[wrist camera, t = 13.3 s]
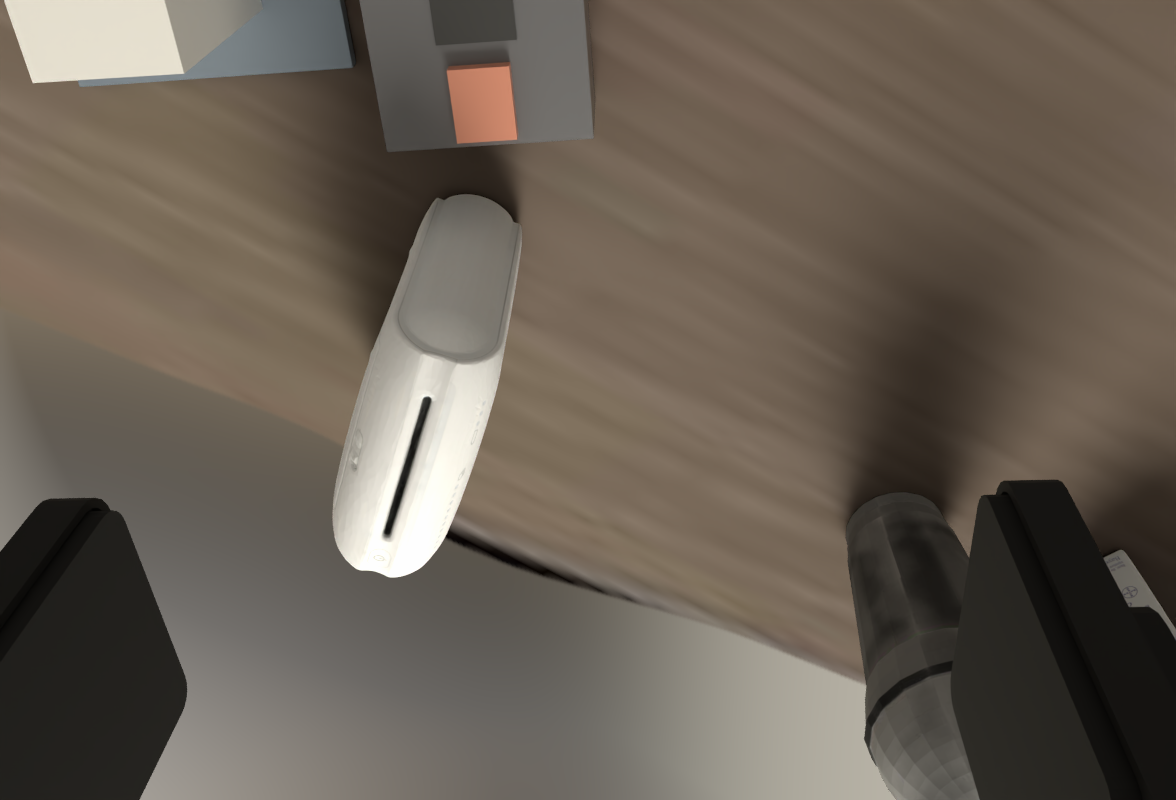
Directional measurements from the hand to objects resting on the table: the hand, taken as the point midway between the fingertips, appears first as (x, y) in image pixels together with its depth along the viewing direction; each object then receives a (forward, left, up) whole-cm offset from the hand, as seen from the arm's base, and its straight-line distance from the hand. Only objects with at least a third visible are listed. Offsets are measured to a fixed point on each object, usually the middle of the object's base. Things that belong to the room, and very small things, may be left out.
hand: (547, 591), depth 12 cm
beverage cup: (-12, +25, -30) cm, 41 cm away
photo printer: (+7, +12, -30) cm, 33 cm away
